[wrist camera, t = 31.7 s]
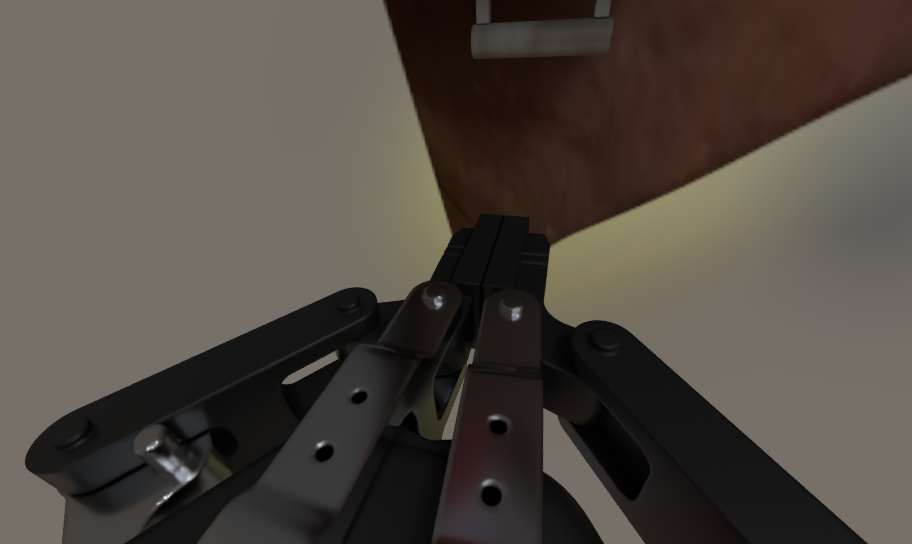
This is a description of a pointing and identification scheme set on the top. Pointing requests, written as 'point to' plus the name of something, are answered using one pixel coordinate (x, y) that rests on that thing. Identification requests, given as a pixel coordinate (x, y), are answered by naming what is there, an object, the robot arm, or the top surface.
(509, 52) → the drawer
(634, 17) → the top surface
